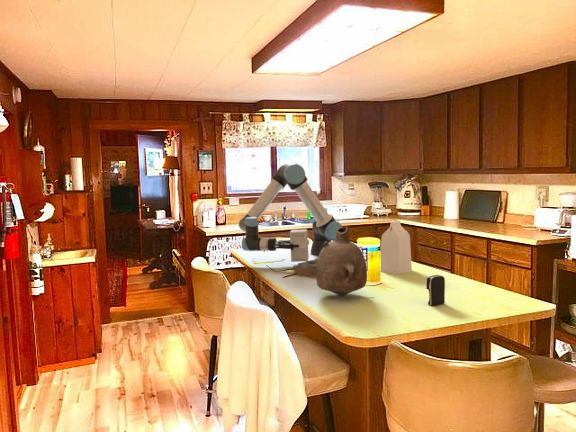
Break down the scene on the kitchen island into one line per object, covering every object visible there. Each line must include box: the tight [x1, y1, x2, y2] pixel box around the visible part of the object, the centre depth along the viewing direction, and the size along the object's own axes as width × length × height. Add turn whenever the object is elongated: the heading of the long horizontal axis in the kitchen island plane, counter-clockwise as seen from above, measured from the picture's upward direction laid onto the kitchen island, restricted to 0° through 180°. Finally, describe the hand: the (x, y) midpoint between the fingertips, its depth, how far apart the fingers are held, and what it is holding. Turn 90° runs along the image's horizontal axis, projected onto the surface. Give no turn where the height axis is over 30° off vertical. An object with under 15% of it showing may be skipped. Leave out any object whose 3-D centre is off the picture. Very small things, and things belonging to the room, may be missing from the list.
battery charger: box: [426, 274, 446, 307], centre depth 188 cm, size 7×4×11 cm, turn 117°
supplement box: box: [289, 228, 310, 263], centre depth 269 cm, size 10×9×17 cm
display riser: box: [293, 258, 318, 279], centre depth 249 cm, size 20×20×6 cm
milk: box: [380, 220, 413, 275], centre depth 248 cm, size 12×12×26 cm
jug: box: [315, 226, 368, 297], centre depth 203 cm, size 24×21×30 cm
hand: (306, 244), depth 268 cm, fingers closed on supplement box, 10 cm apart
